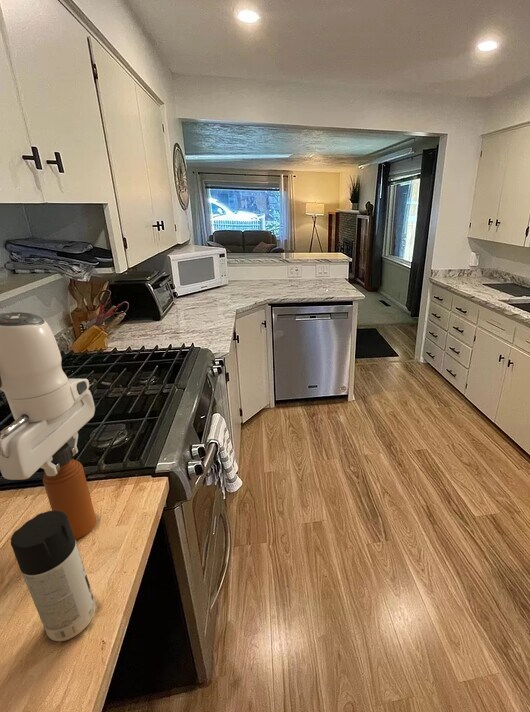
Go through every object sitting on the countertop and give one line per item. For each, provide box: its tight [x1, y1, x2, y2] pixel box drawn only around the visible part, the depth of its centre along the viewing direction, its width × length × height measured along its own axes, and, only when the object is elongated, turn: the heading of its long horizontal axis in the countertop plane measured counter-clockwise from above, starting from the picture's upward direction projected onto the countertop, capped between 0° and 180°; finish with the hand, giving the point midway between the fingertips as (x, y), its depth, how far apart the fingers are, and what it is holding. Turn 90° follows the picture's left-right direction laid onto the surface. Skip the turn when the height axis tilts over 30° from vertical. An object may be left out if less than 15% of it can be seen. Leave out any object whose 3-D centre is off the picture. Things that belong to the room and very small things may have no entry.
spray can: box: [10, 510, 96, 642], centre depth 54 cm, size 7×7×20 cm
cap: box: [51, 443, 73, 466], centre depth 68 cm, size 4×4×3 cm
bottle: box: [42, 458, 97, 540], centre depth 71 cm, size 6×6×19 cm
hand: (63, 463), depth 69 cm, fingers closed on cap, 4 cm apart
